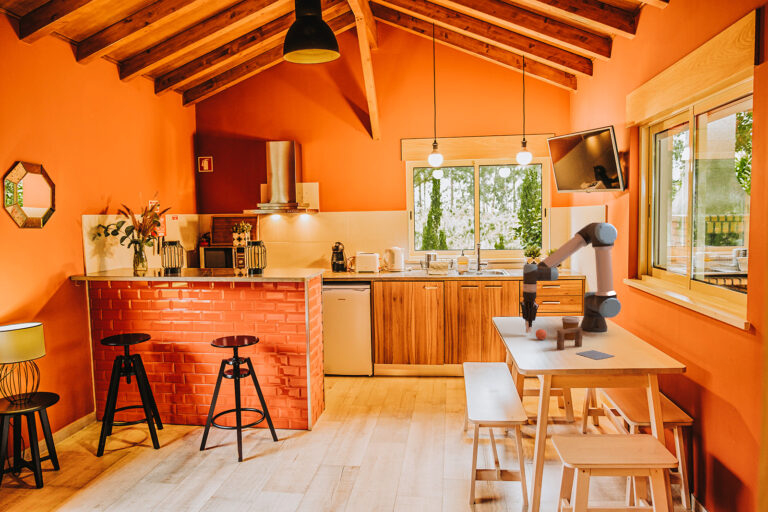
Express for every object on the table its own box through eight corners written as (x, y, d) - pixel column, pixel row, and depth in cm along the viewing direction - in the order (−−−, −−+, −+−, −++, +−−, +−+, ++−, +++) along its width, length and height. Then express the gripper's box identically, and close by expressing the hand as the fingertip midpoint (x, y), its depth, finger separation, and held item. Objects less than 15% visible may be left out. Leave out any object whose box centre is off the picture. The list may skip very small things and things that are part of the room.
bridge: (556, 348, 266) (557, 330, 266) (577, 345, 274) (577, 327, 273) (561, 350, 264) (561, 331, 263) (581, 346, 271) (582, 328, 270)
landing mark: (593, 350, 263) (593, 350, 263) (615, 356, 252) (615, 356, 252) (575, 353, 257) (575, 353, 257) (596, 359, 246) (596, 359, 246)
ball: (541, 338, 290) (541, 327, 290) (549, 340, 285) (549, 329, 285) (533, 339, 288) (533, 328, 287) (541, 341, 282) (541, 330, 282)
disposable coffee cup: (580, 341, 283) (581, 319, 282) (562, 340, 285) (562, 318, 284) (577, 337, 292) (578, 316, 291) (560, 336, 294) (560, 315, 293)
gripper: (516, 290, 297) (515, 330, 298) (532, 293, 285) (531, 335, 287) (526, 289, 300) (525, 329, 302) (543, 292, 289) (541, 333, 290)
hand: (528, 332), depth 294 cm, fingers closed
